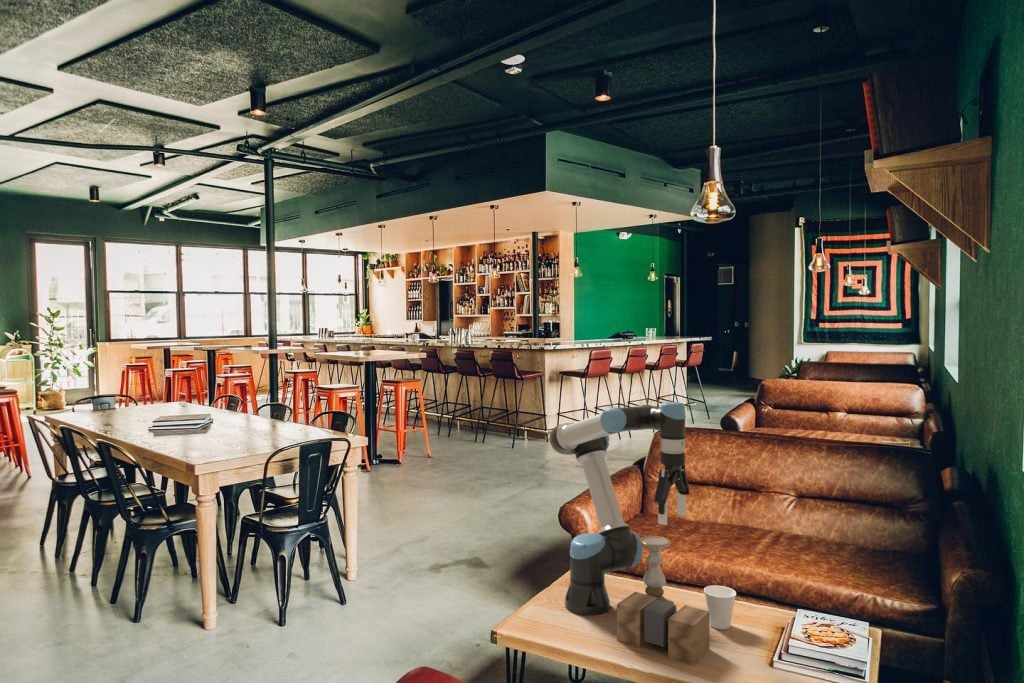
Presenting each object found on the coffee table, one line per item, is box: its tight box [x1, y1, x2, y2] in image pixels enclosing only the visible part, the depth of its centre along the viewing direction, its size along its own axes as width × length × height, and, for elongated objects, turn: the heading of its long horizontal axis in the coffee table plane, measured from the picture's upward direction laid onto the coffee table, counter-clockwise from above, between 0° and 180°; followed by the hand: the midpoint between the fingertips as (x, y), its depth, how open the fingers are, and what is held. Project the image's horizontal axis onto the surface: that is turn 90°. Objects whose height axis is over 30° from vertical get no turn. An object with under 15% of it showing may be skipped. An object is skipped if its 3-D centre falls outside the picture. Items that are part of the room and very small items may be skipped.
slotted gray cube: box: [644, 600, 676, 648], centre depth 190 cm, size 6×8×9 cm
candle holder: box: [639, 535, 678, 613], centre depth 215 cm, size 11×11×24 cm
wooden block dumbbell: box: [616, 591, 710, 666], centre depth 191 cm, size 24×12×11 cm, turn 52°
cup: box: [703, 584, 737, 630], centre depth 204 cm, size 10×10×11 cm
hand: (672, 519), depth 202 cm, fingers open, 13 cm apart
